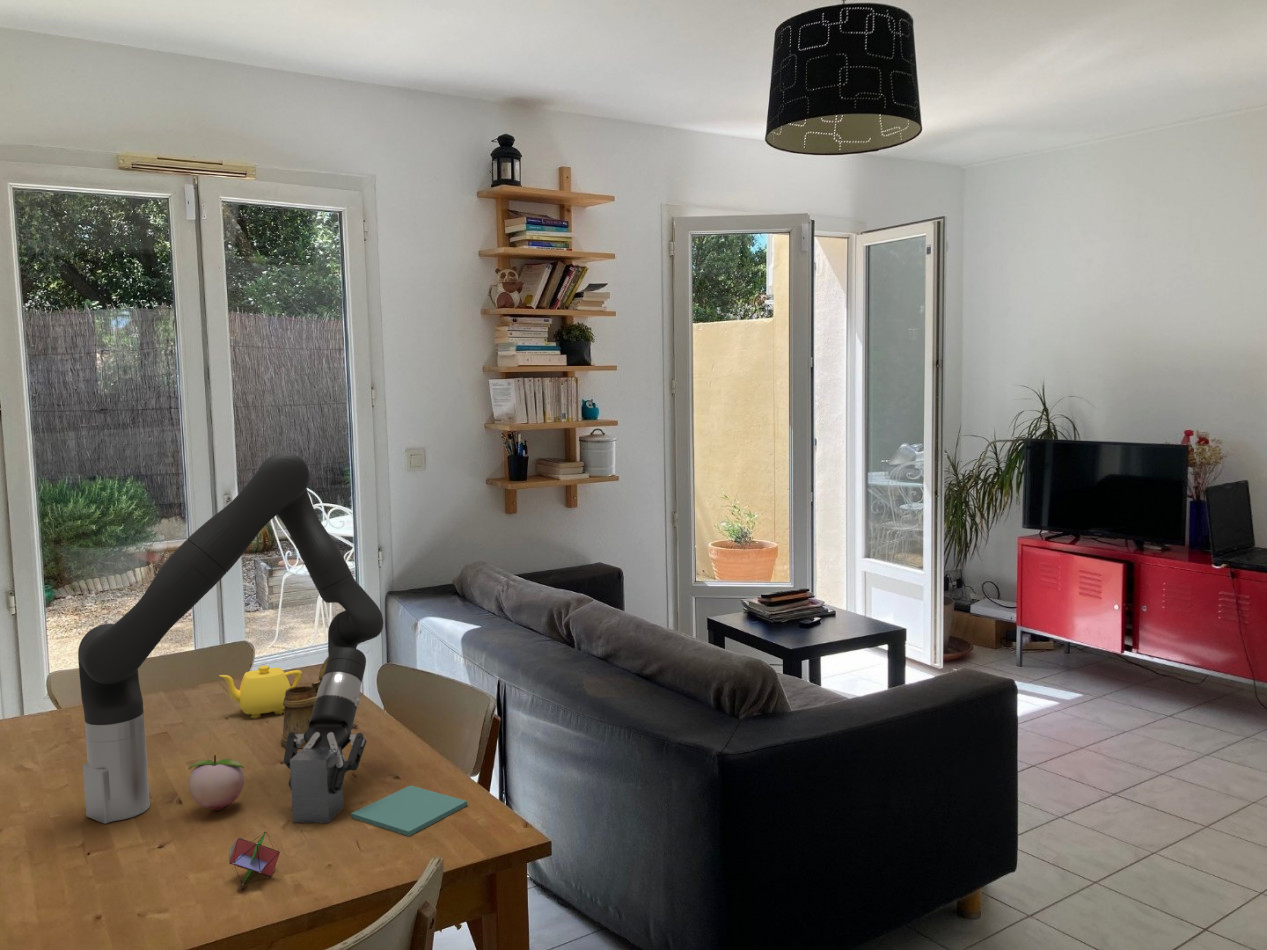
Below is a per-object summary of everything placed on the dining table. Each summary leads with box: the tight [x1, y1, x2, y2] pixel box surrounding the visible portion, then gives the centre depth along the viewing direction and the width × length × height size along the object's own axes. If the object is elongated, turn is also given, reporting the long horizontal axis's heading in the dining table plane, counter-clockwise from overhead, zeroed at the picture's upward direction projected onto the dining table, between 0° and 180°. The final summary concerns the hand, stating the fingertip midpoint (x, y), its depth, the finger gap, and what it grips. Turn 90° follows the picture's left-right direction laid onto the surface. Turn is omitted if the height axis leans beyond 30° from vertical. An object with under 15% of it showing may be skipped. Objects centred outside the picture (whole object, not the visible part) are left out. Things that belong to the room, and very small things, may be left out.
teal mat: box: [350, 785, 468, 837], centre depth 174 cm, size 14×14×1 cm
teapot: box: [218, 665, 303, 719], centre depth 230 cm, size 18×11×11 cm, turn 116°
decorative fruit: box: [187, 754, 245, 811], centre depth 175 cm, size 9×8×10 cm
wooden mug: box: [280, 656, 329, 749], centre depth 211 cm, size 9×14×18 cm, turn 128°
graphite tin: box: [289, 747, 344, 824], centre depth 173 cm, size 6×6×11 cm
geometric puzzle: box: [228, 830, 281, 886], centre depth 151 cm, size 7×7×8 cm
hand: (313, 791), depth 171 cm, fingers closed on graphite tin, 6 cm apart
